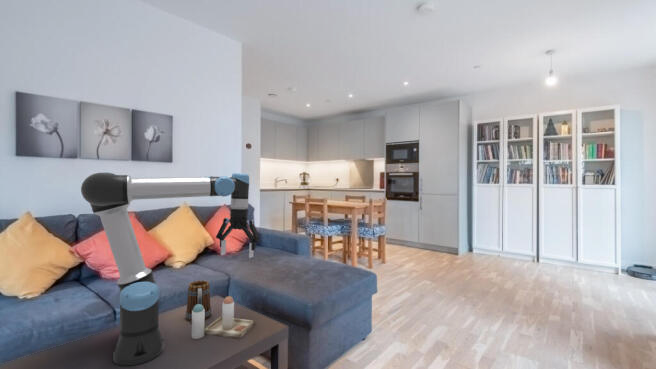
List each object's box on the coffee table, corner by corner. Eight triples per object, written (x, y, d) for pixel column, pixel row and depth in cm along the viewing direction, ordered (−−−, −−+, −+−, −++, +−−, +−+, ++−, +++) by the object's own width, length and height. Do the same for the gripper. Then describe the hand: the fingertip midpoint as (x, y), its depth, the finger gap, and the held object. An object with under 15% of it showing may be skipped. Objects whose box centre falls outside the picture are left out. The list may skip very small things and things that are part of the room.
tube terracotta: (219, 328, 127) (220, 297, 127) (225, 323, 131) (226, 294, 131) (229, 329, 126) (230, 299, 126) (235, 325, 130) (236, 295, 130)
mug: (185, 313, 142) (185, 281, 142) (210, 310, 147) (210, 278, 146) (185, 329, 128) (186, 292, 128) (213, 324, 132) (213, 289, 132)
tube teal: (189, 338, 121) (189, 306, 121) (196, 332, 125) (196, 301, 125) (199, 339, 120) (200, 307, 120) (206, 333, 124) (207, 302, 124)
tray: (203, 333, 124) (203, 329, 124) (220, 320, 136) (220, 316, 136) (240, 338, 121) (240, 334, 121) (254, 324, 132) (254, 320, 132)
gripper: (268, 209, 140) (266, 256, 140) (218, 206, 145) (216, 251, 145) (261, 210, 133) (259, 260, 133) (209, 207, 138) (206, 255, 138)
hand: (237, 256), depth 139 cm, fingers open, 13 cm apart
